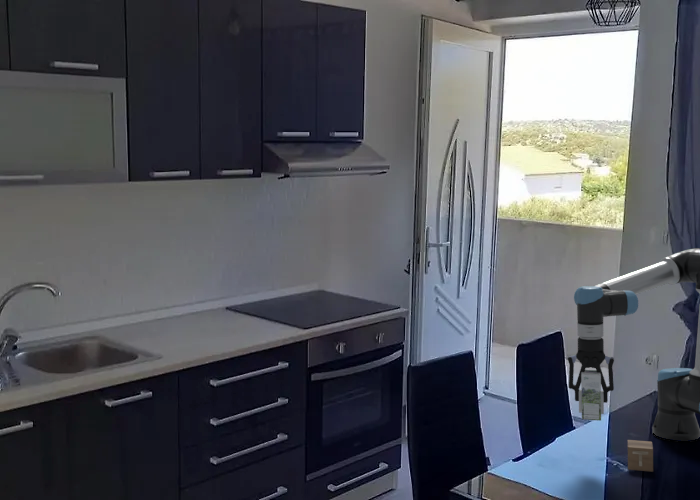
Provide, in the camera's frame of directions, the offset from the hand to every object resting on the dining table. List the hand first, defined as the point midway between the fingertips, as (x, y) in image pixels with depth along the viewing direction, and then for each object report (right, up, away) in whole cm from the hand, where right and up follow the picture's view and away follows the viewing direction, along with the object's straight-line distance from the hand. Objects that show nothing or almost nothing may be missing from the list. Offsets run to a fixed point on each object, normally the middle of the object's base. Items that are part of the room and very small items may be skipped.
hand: (591, 411), depth 225 cm
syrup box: (0, -2, 0) cm, 2 cm away
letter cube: (+15, -17, -1) cm, 22 cm away
